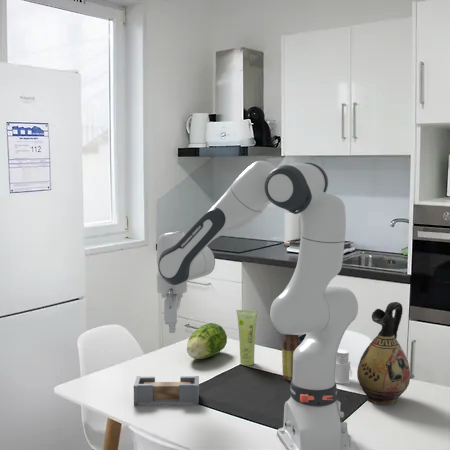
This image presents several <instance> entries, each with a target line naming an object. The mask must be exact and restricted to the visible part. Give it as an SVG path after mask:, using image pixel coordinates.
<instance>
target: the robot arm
mask: <svg viewBox="0 0 450 450" xmlns="http://www.w3.org/2000/svg"><path fill="white" fill-rule="evenodd" d="M327 175H328V174H327V173H326V171H325V170H324V169H323V168H322V167H321V166H319V165H317V164H315V163H311V162H293V163H288V164H284V165H280V166H278V167H276V166H275V165H274V164H273V163H271V162H268V161H266V160H257V161H254V162H253V163H252V164H250V165H249V166H248V167H247V168H245V169H244V170H243V171H242V172H241V174H239V175H238V177H237V178H235V180H234V181H233V182H232V183H231V185H230V186H229V187H228V189H226V190H225V192H224V194H223V195H221V196H220V198H219V199H218V200H217V201H216V203H215V204H213V205H212V206H211V207H210V209H209V210H208V211H207V212H206V213H205V214H203V215H202V216H201V218H199V219H198V220H197V221H196V222H195V223H194V225H193V226H192V227H191V228H190V229H189V230H188V231H187V232H186V233H185V232H183V231H179V230H178V231H173V232H167V233H162V234H161V235H159V237H158V240H157V244H156V264H157V274H156V291H157V293H158V294H160V295H161V298H162V299H164V301H163V321H164V324H165V325H168V329H169V330H168V332H169V334H175V333H176V329H177V326H176V325H177V323H178V318H179V313H180V308H181V302H182V301H181V300H182V298H183V296H184V294H185V293H187V291H188V281H192V280H197V279H199V278H200V279H201V278H202V277H203V278H204V277H205V276H207V275H210V274H211V273H212V272H213V271H214V269H215V265H216V259H215V254H214V252H213V250H212V249H211V248H210V246H209V245H210V243H212V242H213V241H214V240H215V239H217V238H219V237H221V236H223V235H225V234H228V233H231V232H233V231H237V230H241V229H243V228H245V227H247V226H249V225H250V224H251V223H253V222H254V221H255V220H257V218H258V217H260V215H261V214H262V213H263V212H264V210H265V209H266V208H267V207H268V206H269V204H270V203H272V205H274V206H276V207H278V208H281V209H284V210H286V211H288V212H290V213H292V214H293V215H298V214H300V217H301V229H300V230H301V231H300V241H299V249H298V256H297V263H296V267H295V269H294V272H293V274H292V276H291V279H290V280H289V283H287V285H286V287H285V288H284V290H283V291H282V292H281V293H280V294H279V295H278V296H277V297H276V298H274V300H273V301H272V303H271V306H270V310H269V313H270V314H269V316H270V320H271V323H272V325H273V326H274V328H275V330H276V331H278V332H279V333H280V334H281V335H285V334H289V335H298V336H302V335H305V336H304V339H303V340H302V342H300V345H299V346H298V347H297V348H296V349H295V351H294V353H293V378H292V381H290V386H289V390H290V398H288V400H286V401H285V403H284V408H283V409H284V410H283V427H279V428H278V429H276V430H277V431H276V436H277V437H278V438H279V439H280V441H281V443H282V444H283V445H284V447H285V449H286V450H350V439H349V430H348V422H346V421H341V418H344V417H345V413H344V411H341V402H340V401H339V400H338V389H337V388H338V387H337V383H335V368H336V356H337V351H338V349H340V348H339V347H340V345H341V341H342V339H343V336H344V335H345V333H346V331H347V329H348V328H349V326H350V325H351V324H352V323H353V322H354V321H355V320H356V318H357V316H358V313H359V302H358V298H357V297H356V295H355V293H354V292H353V291H352V290H351V289H349V288H347V287H341V286H332V285H331V286H329V284H330V282H331V281H333V279H334V278H335V277H336V276H337V275H338V274H339V273H340V272H341V270H342V267H343V259H344V249H345V243H346V233H347V232H346V231H347V227H346V226H347V223H346V222H347V219H346V217H347V216H346V205H345V203H344V201H343V200H342V199H341V198H340V197H339V196H337V195H336V194H335V195H334V194H332V193H331V194H330V193H327V191H328V187H329V178H328V176H327Z"/></svg>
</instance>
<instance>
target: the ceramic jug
mask: <svg viewBox="0 0 450 450" xmlns="http://www.w3.org/2000/svg"><path fill="white" fill-rule="evenodd" d="M403 311H404V310H403V305H402V304H401V303H400V302H398V301H394V302H393V301H392V302H390V303H388V304H387V306H386V308H385V310H382V309H381V308H376V309H375V310H374V311H373V312H372V314H371V320H372V321H373V322H374V323H376V324H378V325H380V326H381V329H380V331H379V332H378V333H377V335H376V336H375V337H374V338H373V339H372V341H371V342H370V343H369V345H368V346H367V347H366V349H365V350H364V352H363V353H362V356H361V357H360V359H359V361H358V362H359V363H358V365H357V371H356V372H357V375H356V377H357V381H358V384H359V386H360V388H361V390H362V392H363V393H364V394H365V399H366V400H367V401H368V402H369V403H371V404H376V405H381V406H390V405H394V404H396V403H397V401H398V400H399V398H400V396H401V395H403V393H404V392H406V390H407V389H408V387H409V385H410V380H411V369H410V363H409V361H408V358H407V356H406V354H405V352H404V349H403V348H402V346H401V345H400V343H399V341H398V339H397V337H398V330H399V326H400V325H401V320H402V318H403V317H402V316H403ZM393 313H394V316H393Z"/></svg>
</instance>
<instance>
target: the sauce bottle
mask: <svg viewBox="0 0 450 450" xmlns="http://www.w3.org/2000/svg"><path fill="white" fill-rule="evenodd" d="M300 344H301V338H300V335H289V334H283V337H282V338H281V345H282V347H281V357H282V358H281V359H282V363H281V364H282V377H283V379H284V380H286V381H290V382H291V381H292V378H293V353H294V351H295V349H296V348H297V347H298V346H299V345H300Z"/></svg>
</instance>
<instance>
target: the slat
mask: <svg viewBox="0 0 450 450" xmlns="http://www.w3.org/2000/svg"><path fill="white" fill-rule="evenodd" d="M144 384H153V399H179V384H191V382H180V381H155V382H144Z"/></svg>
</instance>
